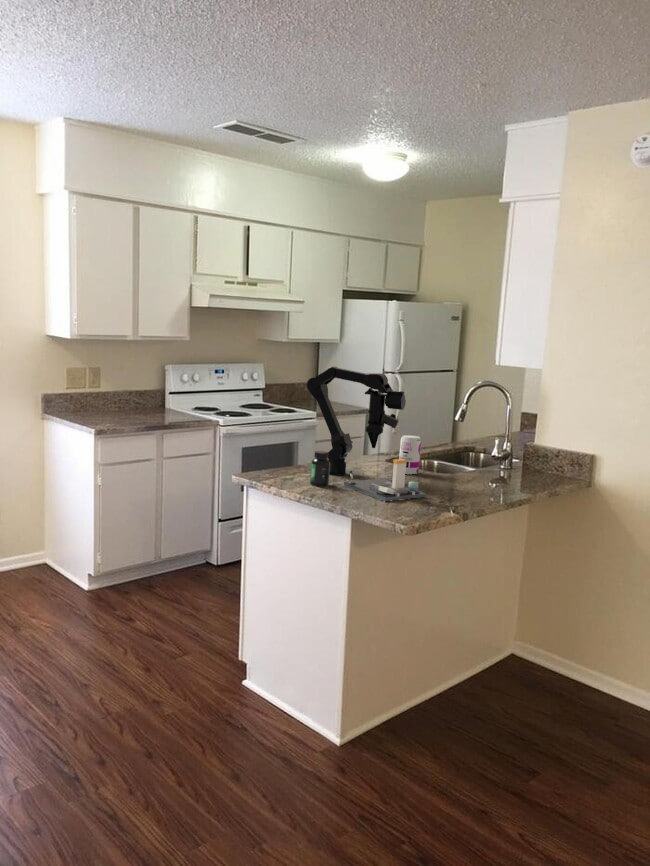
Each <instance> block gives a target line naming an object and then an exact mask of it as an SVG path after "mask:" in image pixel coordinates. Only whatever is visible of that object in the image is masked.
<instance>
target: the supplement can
mask: <svg viewBox="0 0 650 866" xmlns="http://www.w3.org/2000/svg"><path fill="white" fill-rule="evenodd" d="M399 445H400V446H399V456H398V459H405V460H407V463H406V471H405V474H417V473H418V474H419V472H420V470H419V469H420V462H421V461H420V460H421V448H422V439H421V437H420V436H418V435H412V434H411V435H410V434H404V435H402V436H401V438H400V443H399ZM418 474H417V475H418Z"/></svg>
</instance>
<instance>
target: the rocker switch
mask: <svg viewBox="0 0 650 866" xmlns="http://www.w3.org/2000/svg"><path fill="white" fill-rule="evenodd" d="M378 490H380V491H383V492H386V493H390V494H394V490H392V489H390V488H387V487H383V486H379V489H378Z"/></svg>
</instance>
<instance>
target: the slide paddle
mask: <svg viewBox="0 0 650 866" xmlns="http://www.w3.org/2000/svg"><path fill="white" fill-rule="evenodd" d="M392 463H393V469H392V480H391V481H392V486H389V487H388V488H390V489H392V490H394V491H395V492H397V493H400V494H401V493H408V489H407V488H404V486H405V480H406V475H405V471H406V463H407V460H405V459H399V458H398V459H396V458H395V459H393V460H392Z"/></svg>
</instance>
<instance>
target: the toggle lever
mask: <svg viewBox="0 0 650 866" xmlns="http://www.w3.org/2000/svg"><path fill="white" fill-rule="evenodd" d="M348 473H349V476H350V481H354V476H353V470H351V469H350V470H349V472H348Z"/></svg>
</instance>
